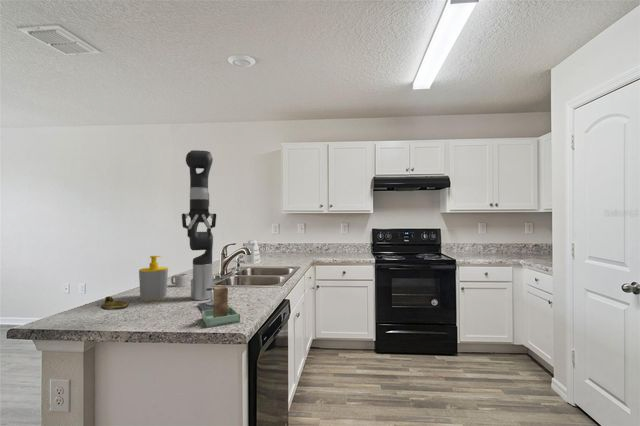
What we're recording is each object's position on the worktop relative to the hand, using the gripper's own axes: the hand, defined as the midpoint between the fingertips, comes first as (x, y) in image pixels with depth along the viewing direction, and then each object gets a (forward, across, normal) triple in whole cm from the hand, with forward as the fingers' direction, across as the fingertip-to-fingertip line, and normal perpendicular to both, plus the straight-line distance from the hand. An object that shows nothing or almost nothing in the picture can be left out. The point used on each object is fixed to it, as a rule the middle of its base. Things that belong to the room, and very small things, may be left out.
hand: (199, 237), depth 135 cm
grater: (+32, -67, -136) cm, 155 cm away
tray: (+32, -6, +15) cm, 35 cm away
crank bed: (+32, -7, -4) cm, 33 cm away
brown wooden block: (+31, -6, +15) cm, 35 cm away
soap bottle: (+32, +16, -38) cm, 52 cm away
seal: (+32, +32, -30) cm, 54 cm away
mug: (+32, +1, -64) cm, 71 cm away
